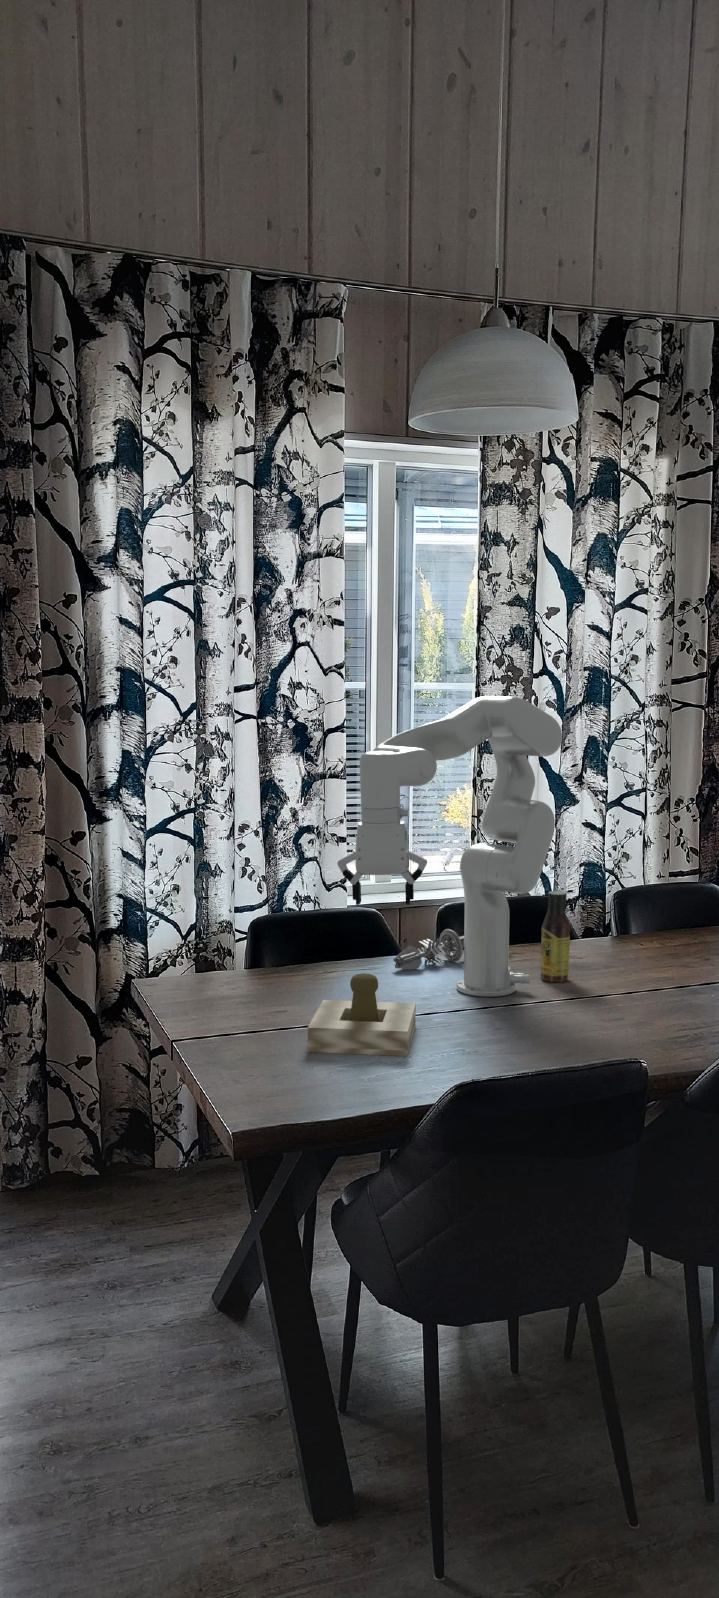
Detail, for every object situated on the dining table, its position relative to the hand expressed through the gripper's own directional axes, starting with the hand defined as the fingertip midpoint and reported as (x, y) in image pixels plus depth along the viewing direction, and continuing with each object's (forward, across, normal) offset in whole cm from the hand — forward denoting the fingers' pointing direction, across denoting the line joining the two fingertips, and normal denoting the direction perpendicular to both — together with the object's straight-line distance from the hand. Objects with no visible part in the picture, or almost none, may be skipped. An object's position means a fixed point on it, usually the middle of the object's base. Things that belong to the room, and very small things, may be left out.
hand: (383, 903), depth 225 cm
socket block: (+23, +3, +12) cm, 26 cm away
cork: (+22, +3, +12) cm, 25 cm away
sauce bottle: (+26, -35, -34) cm, 55 cm away
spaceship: (+26, -11, -48) cm, 56 cm away
